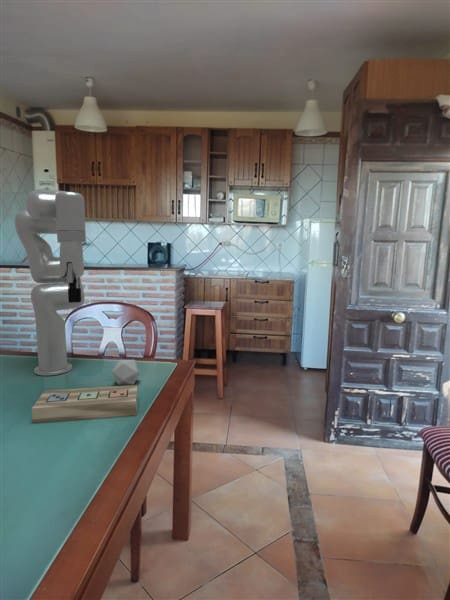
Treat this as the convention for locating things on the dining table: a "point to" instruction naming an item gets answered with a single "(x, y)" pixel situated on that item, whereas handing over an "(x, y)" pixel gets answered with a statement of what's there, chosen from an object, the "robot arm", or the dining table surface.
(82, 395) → the button one
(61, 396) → the button three
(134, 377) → the die
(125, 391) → the button two
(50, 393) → the button board
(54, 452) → the dining table surface
